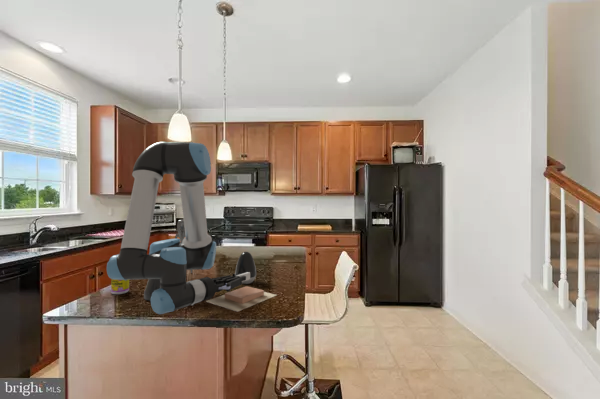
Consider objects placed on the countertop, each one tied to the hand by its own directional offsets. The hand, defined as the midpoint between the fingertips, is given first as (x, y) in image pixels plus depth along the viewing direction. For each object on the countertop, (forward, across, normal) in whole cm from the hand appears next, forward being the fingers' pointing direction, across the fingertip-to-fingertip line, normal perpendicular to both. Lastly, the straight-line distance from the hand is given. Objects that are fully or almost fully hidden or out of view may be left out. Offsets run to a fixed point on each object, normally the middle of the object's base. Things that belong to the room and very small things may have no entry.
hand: (248, 275), depth 116 cm
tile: (-8, 0, -7) cm, 11 cm away
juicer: (+3, -55, -9) cm, 56 cm away
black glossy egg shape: (+15, -17, -9) cm, 24 cm away
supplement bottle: (-27, -50, -9) cm, 58 cm away
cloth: (-3, 0, -9) cm, 10 cm away
